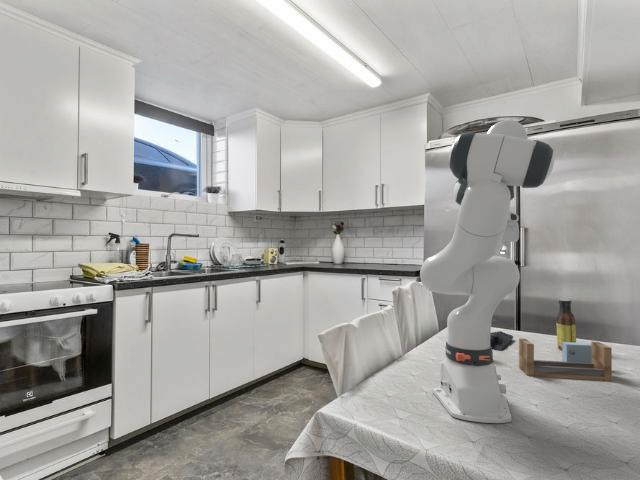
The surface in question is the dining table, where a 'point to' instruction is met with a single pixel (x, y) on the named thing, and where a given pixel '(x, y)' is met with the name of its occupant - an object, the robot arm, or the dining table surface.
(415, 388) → the dining table surface
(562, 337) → the sauce bottle
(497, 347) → the dark grey flat piece
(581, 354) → the door panel
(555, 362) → the wooden rack
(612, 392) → the dining table surface
